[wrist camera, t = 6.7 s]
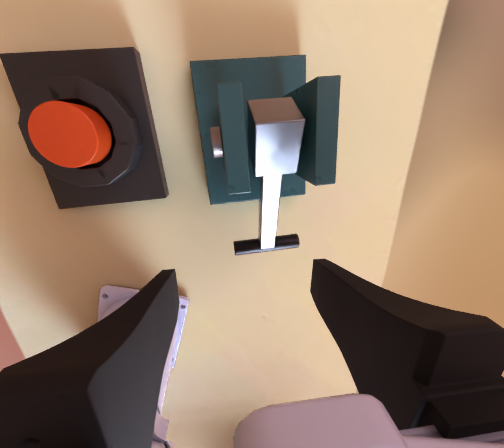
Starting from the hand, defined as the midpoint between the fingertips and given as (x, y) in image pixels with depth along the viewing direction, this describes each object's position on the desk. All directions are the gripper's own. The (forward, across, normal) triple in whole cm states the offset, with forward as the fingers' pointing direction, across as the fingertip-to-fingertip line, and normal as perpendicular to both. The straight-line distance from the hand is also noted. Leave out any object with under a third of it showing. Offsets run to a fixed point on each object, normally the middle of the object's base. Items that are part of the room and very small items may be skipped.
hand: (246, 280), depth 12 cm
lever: (+5, -2, -4) cm, 6 cm away
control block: (+10, +10, -7) cm, 16 cm away
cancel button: (+7, +10, -7) cm, 14 cm away
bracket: (+10, -2, -7) cm, 12 cm away
